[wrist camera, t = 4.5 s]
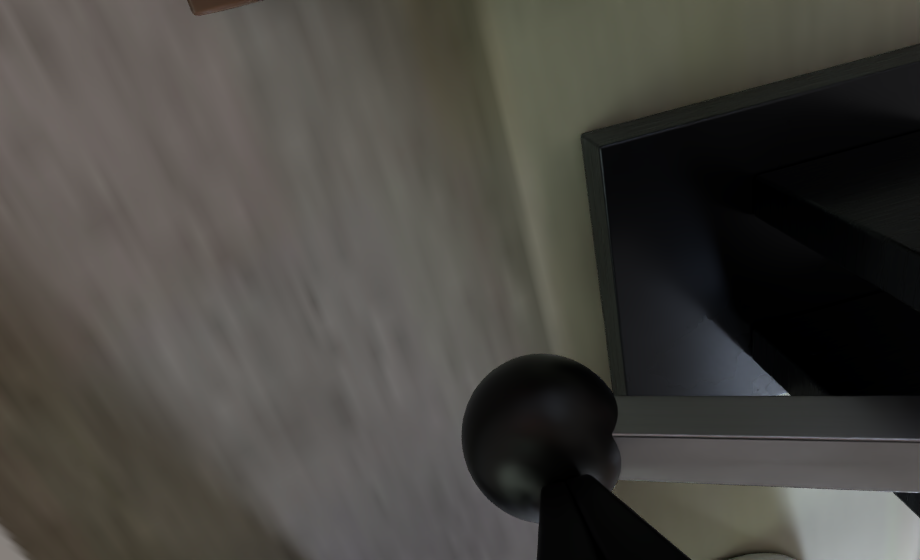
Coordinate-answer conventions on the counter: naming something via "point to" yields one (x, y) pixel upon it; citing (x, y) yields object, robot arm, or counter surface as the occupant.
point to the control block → (215, 5)
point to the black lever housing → (766, 239)
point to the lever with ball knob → (676, 437)
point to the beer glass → (763, 557)
